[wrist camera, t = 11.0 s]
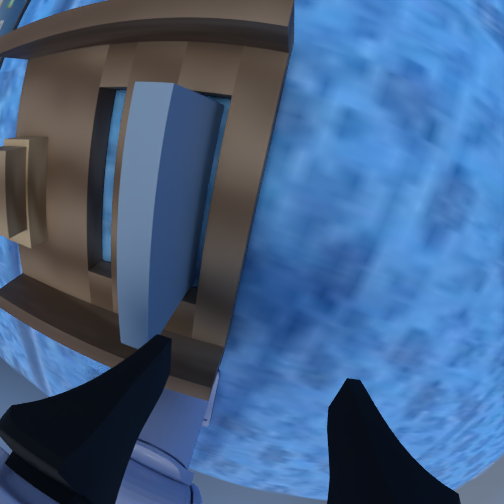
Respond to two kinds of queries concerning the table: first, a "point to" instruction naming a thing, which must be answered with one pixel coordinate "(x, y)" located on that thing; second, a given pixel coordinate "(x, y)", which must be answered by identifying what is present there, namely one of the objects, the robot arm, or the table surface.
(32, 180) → the block
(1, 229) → the offcut top
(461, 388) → the table surface
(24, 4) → the tablet
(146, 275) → the sheet
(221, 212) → the rack
